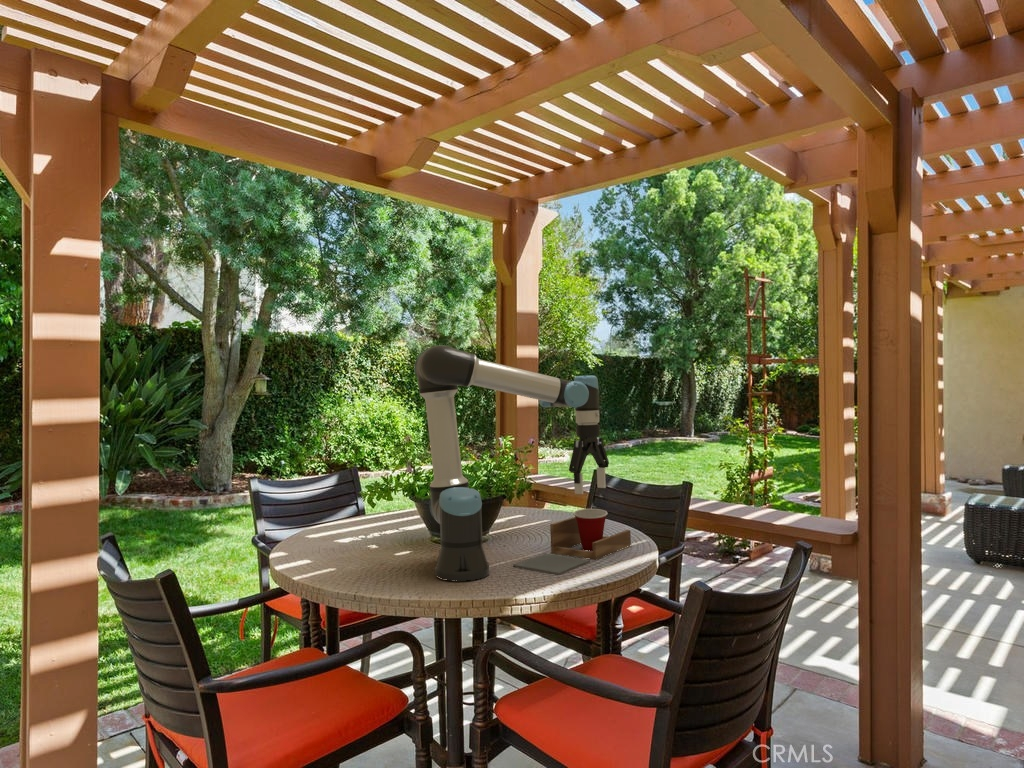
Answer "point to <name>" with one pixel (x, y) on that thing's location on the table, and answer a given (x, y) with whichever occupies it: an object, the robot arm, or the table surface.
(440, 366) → the robot arm
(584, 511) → the plastic cup
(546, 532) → the table surface
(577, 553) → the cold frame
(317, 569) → the table surface
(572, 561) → the mat
